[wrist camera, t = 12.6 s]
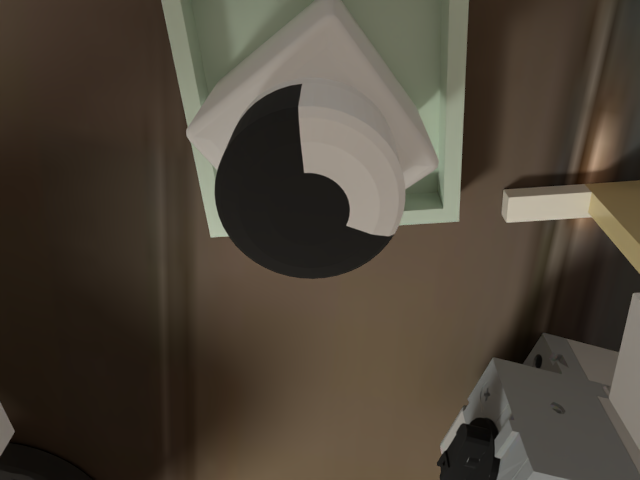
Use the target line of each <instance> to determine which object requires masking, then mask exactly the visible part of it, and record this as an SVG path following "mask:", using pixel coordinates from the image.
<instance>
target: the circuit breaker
mask: <svg viewBox="0 0 640 480" xmlns="http://www.w3.org/2000/svg"><path fill="white" fill-rule="evenodd" d="M618 356H619V352H616V351H612V350H608V349H604V348H601V347H597V346H593V345H589V344H585V343H582V342H578V341H574V340H570V339H566V338H562V337H559V336H555V335H551V334H547V333H543V334H542V335H541V337H540V338H539V340H538V341H537V343H536V344H535V346H534V348H533V349H532V351H531V352H530V354H529V355H528V357H527V358H526V360H525V361H524V363H523V364H519V363H515V362H511V361H507V360H503V359H499V358H495V357H493V358H492V360H491V362H490V363H489V365H488V366H487V368H486V370H485V371H484V373H483V375H482V376H481V378H480V380H479V381H478V383H477V385H476V386H475V388H474V389H473V391H472V393H471V394H470V396H469V398H468V399H467V400H469V404H468V406H465V405H464V406H463V408H462V409H461V411H460V412H459V414H458V416H457V417H456V419H455V421H454V422H453V424H452V426H451V427H450V429H449V431H448V432H447V434H446V436H445V437H444V439H443V440H442V442H441V444H440V448H441V453H442V456H441V457H440V459H439V461H438V462H437V465H438V466H440V467H441V474H440V480H640V450H639V449H638V447H637V445H636V443H635V442H634V440H633V438H632V437H631V435H630V433H629V432H628V430H627V428H626V427H625V425H624V423H623V421H622V420H621V418H620V416H619V415H618V413H617V411H616V410H615V408H614V406H613V405H612V403H611V401H610V400H609V394H610V390H611V386H612V381H613V377H614V373H615V369H616V364H617V360H618Z"/></svg>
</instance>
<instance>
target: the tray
mask: <svg viewBox="0 0 640 480" xmlns="http://www.w3.org/2000/svg"><path fill="white" fill-rule="evenodd" d="M313 1H314V0H161V2H162V7H163V12H164V16H165V21H166V26H167V31H168V35H169V40H170V45H171V50H172V55H173V59H174V64H175V69H176V74H177V78H178V83H179V88H180V93H181V98H182V102H183V107H184V112H185V117H186V122H187V126H189V125H190V123H191V122H192V120H193V119H194V117H195V116H196V114H197V113H198V111H199V110H200V108H201V107H202V105H203V104H204V102H205V100H206V99H207V97H208V96H209V94H210V93H211V91H212V90H213V88H214V87H215V85H216V84H217V82H218V81H219V80H220V79H221V78H223V77H224V76H225V75H226V74H227V73H229V72H230V71H231V70H232V69H233V68H235V67H236V66H237V65H238V64H239V63H240V62H242V61H243V60H244V59H245V58H246V57H248V56H249V55H250V54H251V53H252V52H254V51H255V50H256V49H257V48H258V47H260V46H261V45H262V44H263V43H264V42H266V41H267V40H268V39H269V38H270V37H272V36H273V35H274V34H275V33H276V32H277V31H279V30H280V29H281V28H282V27H283V26H285V25H286V24H287V23H288V22H289V21H291V20H292V19H293V18H294V17H295V16H297V15H298V14H299V13H300V12H301V11H303V10H304V9H305V8H306V7H307V6H309V5H310V4H311V3H312V2H313ZM341 1H342V2H343V3H344V5H345V6H346V8H347V9H348V10H349V12H350V13H351V15H352V16H353V18H354V19H355V20H356V22H357V23H358V25H359V26H360V28H361V29H362V30H363V32H364V33H365V35H366V36H367V37H368V39H369V40H370V42H371V43H372V45H373V46H374V47H375V49H376V50H377V52H378V53H379V55H380V56H381V57H382V59H383V60H384V62H385V63H386V64H387V66H388V67H389V69H390V70H391V72H392V73H393V74H394V76H395V77H396V79H397V80H398V82H399V83H400V84H401V86H402V87H403V89H404V90H405V91H406V93H407V94H408V96H409V97H410V99H411V100H412V101H413V103H414V104H415V106H416V107H417V110H418V112H419V114H420V117H421V119H422V121H423V124H424V126H425V129H426V131H427V133H428V136H429V138H430V140H431V143H432V145H433V147H434V150H435V152H436V155H437V157H438V160H439V163H438V167H437V168H436V169H435V170H434V171H433V172H431V173H430V174H428V175H427V176H425V177H424V178H422V179H421V180H419V181H417V182H416V183H414V184H413V185H411V186H410V187H408V188H407V189H405V206H404V212H403V215H402V218H401V221H400V224H399V225H412V224H427V223H443V222H459V209H460V187H461V164H462V142H463V120H464V98H465V75H466V53H467V31H468V9H469V0H341ZM191 145H192V150H193V155H194V160H195V165H196V169H197V174H198V179H199V184H200V188H201V193H202V198H203V203H204V208H205V212H206V217H207V222H208V227H209V232H210V236H211V237H224V236H228V234H227V233H226V231H225V229H224V228H223V225H222V223H221V221H220V218H219V216H218V212H217V208H216V203H215V193H214V191H215V179H216V174H217V170H216V169H215V167H214V166H213V165H212V164H211V163H210V162H209V161H208V160H207V159H206V158H205V157H204V156H203V155H202V154H201V152H200V151H199V150H198V149H197V148H196V147H195V146H194V145H193V144H192V143H191Z"/></svg>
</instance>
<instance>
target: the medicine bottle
mask: <svg viewBox="0 0 640 480" xmlns="http://www.w3.org/2000/svg"><path fill="white" fill-rule="evenodd" d="M186 136H187V138H188V139H189V141H190V142H191V143H192V144H193V145H194V146H195V147H196V148H197V149H198V150H199V151H200V152H201V154H202V155H203V156H204V157H205V158H206V159H207V160H208V161H209V162H210V163H211V164H212V165H213V166H214V167H215V169H216V170H217V174H216V179H215V191H214V193H215V203H216V208H217V212H218V216H219V218H220V221H221V223H222V225H223V228H224V229H225V231H226V233H227V234H228V236H229V238H230V239H231V240H232V241H233V243H234V244H235V245H236V246H237V247H238V248H239V249H240V250H241V251H242V252H243V253H244V254H245V255H246V256H248V257H249V258H250V259H252V260H253V261H254V262H256V263H258V264H259V265H261V266H263V267H265V268H267V269H269V270H272V271H274V272H276V273H279V274H283V275H287V276H291V277H297V278H311V279H315V278H327V277H332V276H337V275H340V274H343V273H347V272H350V271H352V270H354V269H356V268H358V267H360V266H362V265H364V264H365V263H367V262H368V261H370V260H371V259H372V258H374V257H375V256H376V255H377V254H379V253H380V252H381V251H382V249H383V248H384V247H385V246H386V245H387V244H388V243H389V241H390V240H391V238H392V237H393V236H394V234H395V232H396V230H397V228H398V226H399V224H400V221H401V218H402V215H403V212H404V206H405V189H407V188H408V187H410V186H411V185H413V184H414V183H416V182H417V181H419V180H421V179H422V178H424V177H425V176H427V175H428V174H430V173H431V172H433V171H434V170H435V169H436V168H437V167H438V163H439V160H438V157H437V155H436V152H435V150H434V147H433V145H432V143H431V140H430V138H429V136H428V133H427V131H426V129H425V126H424V124H423V121H422V119H421V117H420V114H419V112H418V110H417V107H416V106H415V104H414V103H413V101H412V100H411V99H410V97H409V96H408V94H407V93H406V91H405V90H404V89H403V87H402V86H401V84H400V83H399V82H398V80H397V79H396V77H395V76H394V74H393V73H392V72H391V70H390V69H389V67H388V66H387V64H386V63H385V62H384V60H383V59H382V57H381V56H380V55H379V53H378V52H377V50H376V49H375V47H374V46H373V45H372V43H371V42H370V40H369V39H368V37H367V36H366V35H365V33H364V32H363V30H362V29H361V28H360V26H359V25H358V23H357V22H356V20H355V19H354V18H353V16H352V15H351V13H350V12H349V10H348V9H347V8H346V6H345V5H344V3H343V2H342V1H341V0H314V1H313V2H312V3H311V4H310V5H309V6H307V7H306V8H305V9H304V10H303V11H301V12H300V13H299V14H298V15H297V16H295V17H294V18H293V19H292V20H291V21H289V22H288V23H287V24H286V25H285V26H283V27H282V28H281V29H280V30H279V31H277V32H276V33H275V34H274V35H273V36H272V37H270V38H269V39H268V40H267V41H266V42H264V43H263V44H262V45H261V46H260V47H258V48H257V49H256V50H255V51H254V52H252V53H251V54H250V55H249V56H248V57H246V58H245V59H244V60H243V61H242V62H240V63H239V64H238V65H237V66H236V67H235V68H233V69H232V70H231V71H230V72H229V73H227V74H226V75H225V76H224V77H223V78H221V79H220V80H219V81H218V82H217V84H216V85H215V87H214V88H213V90H212V91H211V93H210V94H209V96H208V97H207V99H206V100H205V102H204V104H203V105H202V107H201V108H200V110H199V111H198V113H197V114H196V116H195V117H194V119H193V120H192V122H191V123H190V125H189V126H188V128H187V129H186Z"/></svg>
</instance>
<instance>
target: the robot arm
mask: <svg viewBox="0 0 640 480" xmlns="http://www.w3.org/2000/svg"><path fill="white" fill-rule="evenodd" d="M609 400H610V401H611V403H612V405H613V406H614V408H615V410H616V411H617V413H618V415H619V416H620V418H621V420H622V421H623V423H624V425H625V427H626V428H627V430H628V432H629V433H630V435H631V437H632V438H633V440H634V442H635V443H636V445H637V447H638V449H639V450H640V293H633V295H632V299H631V304H630V308H629V312H628V317H627V321H626V325H625V330H624V334H623V338H622V343H621V347H620V351H619V356H618V360H617V364H616V369H615V373H614V377H613V381H612V386H611V390H610V394H609ZM14 432H15V431H14V429H13V427H12V425H11V423H10V421H9V419H8V417H7V415H6V413H5V411H4V409H3V407H2V405H1V403H0V480H92V479H91V478H90V477H89V476H87V475H86V474H85V473H84V472H82V471H81V470H79V469H78V468H76V467H75V466H73V465H72V464H70V463H68V462H66V461H64V460H62V459H60V458H58V457H56V456H54V455H51V454H49V453H46V452H44V451H41V450H38V449H35V448H31V447H27V446H23V445H18V444H13V443H8V442H9V441H10V439H11V437H12V436H13V434H14Z"/></svg>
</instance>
